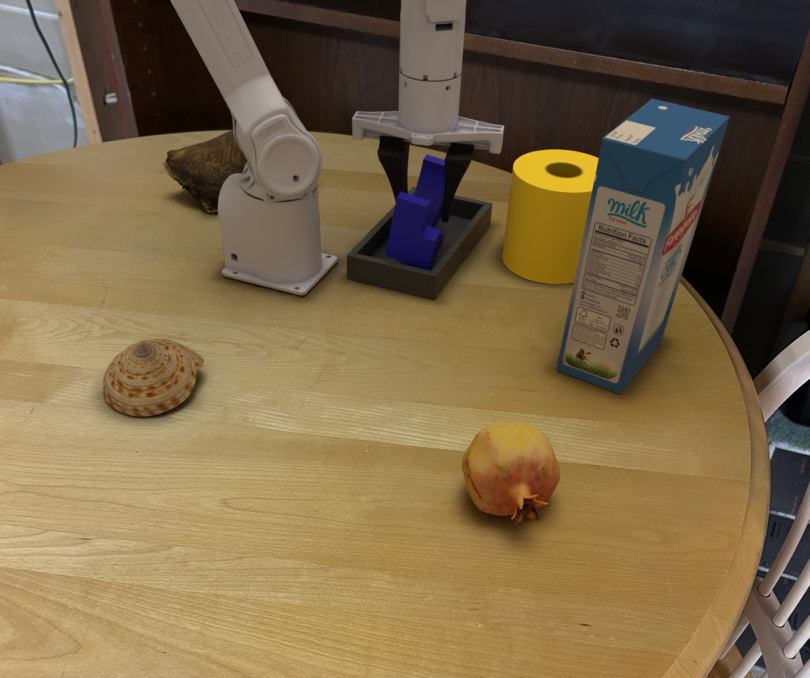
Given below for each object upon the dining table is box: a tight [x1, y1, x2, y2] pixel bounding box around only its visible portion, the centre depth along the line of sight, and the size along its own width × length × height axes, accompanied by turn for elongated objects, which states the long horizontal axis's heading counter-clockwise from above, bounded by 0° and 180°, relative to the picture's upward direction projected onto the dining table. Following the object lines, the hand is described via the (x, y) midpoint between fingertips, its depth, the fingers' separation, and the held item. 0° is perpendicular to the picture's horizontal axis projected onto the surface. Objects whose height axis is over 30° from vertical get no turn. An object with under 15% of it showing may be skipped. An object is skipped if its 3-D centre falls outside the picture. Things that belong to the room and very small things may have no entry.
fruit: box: [461, 421, 561, 527], centre depth 58 cm, size 7×7×10 cm
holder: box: [346, 186, 493, 301], centre depth 86 cm, size 10×18×3 cm, turn 157°
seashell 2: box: [161, 129, 248, 214], centre depth 92 cm, size 16×9×7 cm, turn 111°
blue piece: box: [386, 153, 445, 269], centre depth 82 cm, size 12×4×6 cm, turn 165°
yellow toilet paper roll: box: [501, 149, 599, 285], centre depth 82 cm, size 10×10×9 cm
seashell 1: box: [102, 338, 205, 417], centre depth 68 cm, size 8×6×8 cm
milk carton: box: [555, 98, 731, 395], centre depth 67 cm, size 10×6×20 cm, turn 147°
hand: (423, 215), depth 84 cm, fingers closed on blue piece, 4 cm apart
